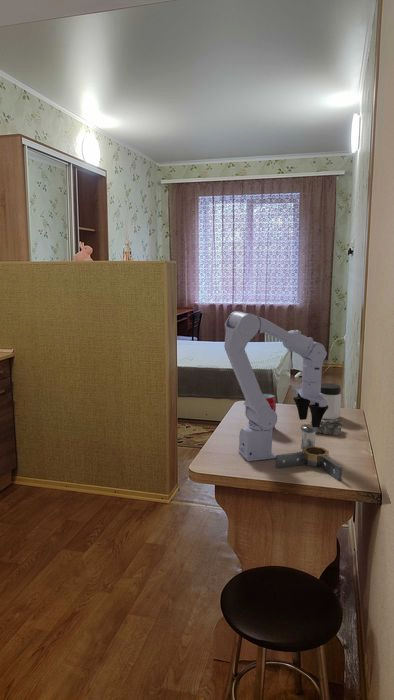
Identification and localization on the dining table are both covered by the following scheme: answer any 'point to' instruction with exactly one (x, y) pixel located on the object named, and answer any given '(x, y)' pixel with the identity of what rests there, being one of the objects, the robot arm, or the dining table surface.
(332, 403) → the jar
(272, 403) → the soda can
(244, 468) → the dining table surface
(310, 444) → the pin
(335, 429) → the egg carton
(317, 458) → the hinge
